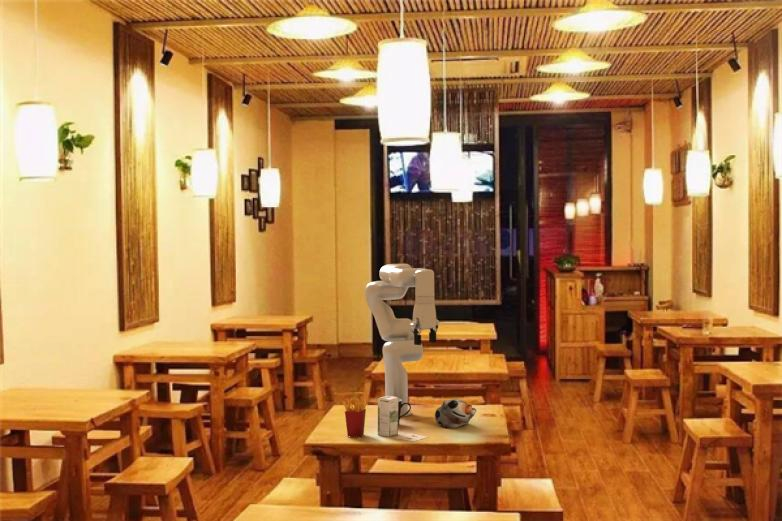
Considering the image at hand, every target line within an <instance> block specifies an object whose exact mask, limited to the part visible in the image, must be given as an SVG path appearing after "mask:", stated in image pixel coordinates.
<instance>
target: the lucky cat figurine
mask: <svg viewBox="0 0 782 521" xmlns="http://www.w3.org/2000/svg"><path fill="white" fill-rule="evenodd" d="M476 413H477V408H475V407H473V406H472V404H468V403H467V401H465V400H464V399H461V398H452V399H450V400H449V399H448V400H447V399H444V400H443V401H442V404H441V406H440V407H438V408H437V409H436V410H435V413H434V419H435V421H436V424H438V425H440V426H441V427H442V428H444V429H457V428H458V427H462V426H464V425H468V424H469V423H470V421H471V420H472V419H473V418H474V416H475V415H476Z"/></svg>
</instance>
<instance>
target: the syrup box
mask: <svg viewBox="0 0 782 521" xmlns="http://www.w3.org/2000/svg"><path fill="white" fill-rule="evenodd" d="M398 434H399V426H398V398H397V397H394V396H385V395H384V396H381V397H377V435H378V436H382V437H389V438H390V437H393V436H396V435H398Z"/></svg>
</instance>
